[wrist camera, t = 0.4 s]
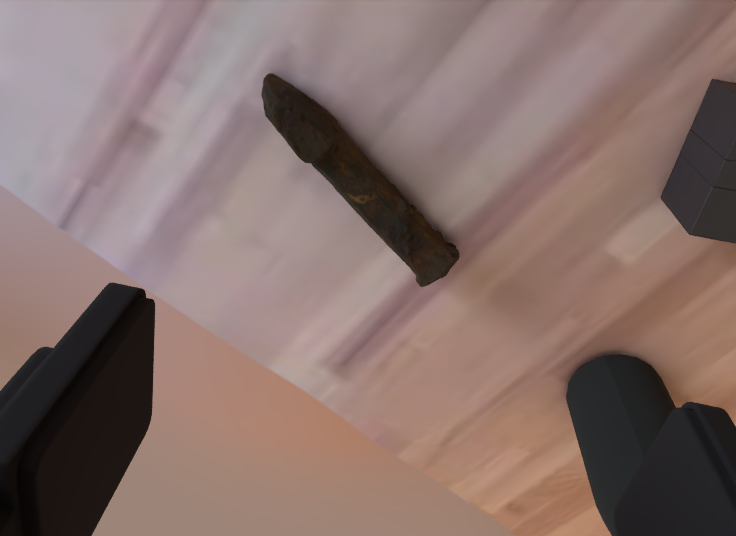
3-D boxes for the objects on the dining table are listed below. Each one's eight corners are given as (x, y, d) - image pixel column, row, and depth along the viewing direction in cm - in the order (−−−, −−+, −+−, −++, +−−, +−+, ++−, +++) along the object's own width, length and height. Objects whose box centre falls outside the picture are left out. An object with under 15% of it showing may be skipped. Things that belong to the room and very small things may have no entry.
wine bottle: (664, 409, 57) (866, 838, 31) (574, 427, 58) (692, 846, 33) (650, 338, 53) (865, 756, 27) (555, 360, 55) (670, 771, 29)
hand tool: (461, 243, 50) (464, 272, 46) (420, 269, 51) (419, 300, 47) (300, 46, 44) (287, 60, 40) (258, 83, 45) (242, 100, 41)
